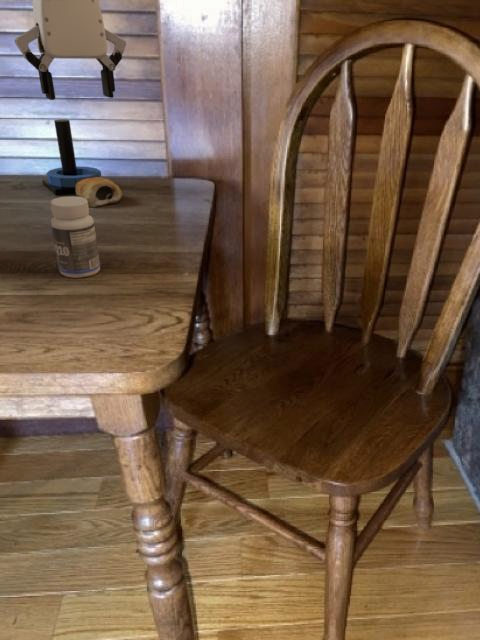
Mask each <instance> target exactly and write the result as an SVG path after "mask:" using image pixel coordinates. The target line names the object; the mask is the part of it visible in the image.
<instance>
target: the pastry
mask: <svg viewBox="0 0 480 640" xmlns="http://www.w3.org/2000/svg"><path fill="white" fill-rule="evenodd" d="M75 194H76V197H82V198H85V199H87V201H88V207H90V208H97V207H103V206H106V205H108V204H115V203H118V202H120V200H121V199H122V197H123V191H122V190H121V188H120V186H119V185H118V184H116V183H115V182H114V181H112V180H111V179H110V178H106V177H102V176H101V177H95V178H86V179H83V180H81V181H79V182H77V183H76V193H75Z"/></svg>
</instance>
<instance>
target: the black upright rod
mask: <svg viewBox="0 0 480 640" xmlns="http://www.w3.org/2000/svg"><path fill="white" fill-rule="evenodd" d="M54 127H55V133H56V141H57V145H58V151H59V159H60V164H61V165H60V166H61V167H62V171H63V175H64V176H77V175H78V174H77V167H76V166H77V161H76V155H75V148H74V141H73V134H72V128H71V122H70V119H67V118H65V119H63V118H59V119H54ZM41 181H42V182H41V183H42V185H43V186H44V187H45V188H46V189H47V190H48V191H50V192H51V193H53V195H54V196H63V195H65V196H66V195H72V194H76V187H58V186H52V185H51V184H49V183H48V179H47V178H42V179H41Z"/></svg>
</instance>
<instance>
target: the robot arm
mask: <svg viewBox="0 0 480 640" xmlns="http://www.w3.org/2000/svg"><path fill="white" fill-rule="evenodd" d="M32 12H33V21H34V22H33V23H34V26H33V27H31V28H30V29H28V30H26V31H25V32H23V33H22V34H20V35H19V36H17V37H16V38H15V39H14V44H15V45H16V47H17V48H18V50H19V52H20V53H21V54H22V55H23V58H24V59H25V60H26V61H27V62H28V63H29V64H30V65H31V66H32V67H34V68H35V70H37V71H38V78H39V83H40V89H41V93H42V95H45V98H46V99H48V100H50V101H54V100H56V93H55V86H54V80H53V73H52V72H51V71H49V70H50V69H49V67H50V66H51V64H52V63H53V61H54V59H96V61H97V62H98V63H99V65H101V67H102V69H101V70H100V78H101V79H100V80H101V88H102V95H103V96H104V97H107V98H111V99H113V98H114V92H115V91H116V85H115V77H114V75H115V74H114V72H115V71H116V70H117V69H116V67H117V66H118V65H119V64H120V62H121V61H122V59H123V54H124V52H125V49H126V46H127V42H126V40H125V39H123V38H121V36H118V35H116V34H115V33H113V32H111V30H108V29H106V27H105V23H104V17H103V14H102V9H101V5H100V0H32ZM33 41H36V46H37V50H38V52H39V53H40V55H39V56H38V57H37V55H35V54H34V53H33V51H32V50H31V49H30V47H29V44H30V43H32V42H33ZM107 41H108V42H110V43H112V45H113V46H114V47H113V52H112V53H111V54H110V55H109V56H108V55H107V53H108V42H107Z"/></svg>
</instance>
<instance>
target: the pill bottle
mask: <svg viewBox="0 0 480 640" xmlns="http://www.w3.org/2000/svg"><path fill="white" fill-rule="evenodd" d="M50 212H51V215H52V216H53V217H52V218H51V220H50V229H51V232H52V238H53V245H54V251H55V256H56V261H57V267H58V271H59V273H60V274H61V275H62V276H64V277H66V278H71V279H72V278H73V279H79V278H86V277H91V276H94V275H96V274H97V273H99V271H100V270H101V263H100V256H99V255H100V254H99V249H98V248H99V247H98V242H97V241H98V240H97V235H96V233H97V232H96V227H95V220H94V218H93V217H92V216H91V215H90V206H88V201H87V199H85V198H82V197H78V196H69V195H68V196H60V197H59V196H58V197H56V198H53V199H51V200H50Z"/></svg>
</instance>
